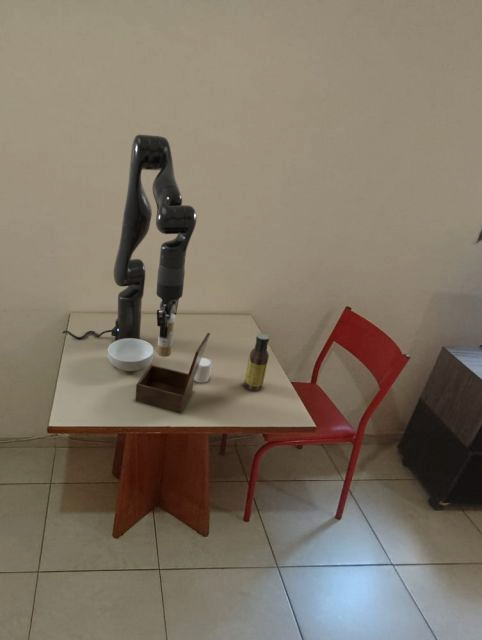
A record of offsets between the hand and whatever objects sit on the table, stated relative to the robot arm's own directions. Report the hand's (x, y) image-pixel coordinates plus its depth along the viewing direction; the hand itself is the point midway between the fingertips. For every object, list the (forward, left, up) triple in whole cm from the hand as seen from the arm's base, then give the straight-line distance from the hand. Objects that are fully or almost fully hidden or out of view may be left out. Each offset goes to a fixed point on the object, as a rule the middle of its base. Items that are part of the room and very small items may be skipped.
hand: (165, 333), depth 135 cm
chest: (+1, +1, -24) cm, 24 cm away
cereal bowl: (-17, +14, -24) cm, 32 cm away
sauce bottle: (+27, +20, -24) cm, 41 cm away
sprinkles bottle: (0, 0, -7) cm, 7 cm away
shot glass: (+9, +17, -24) cm, 30 cm away
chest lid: (+10, +1, -8) cm, 13 cm away
